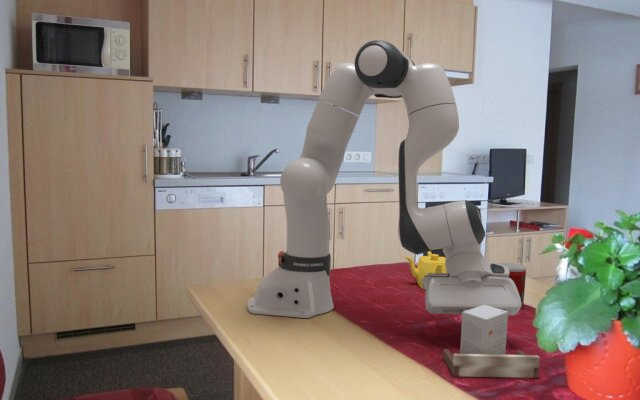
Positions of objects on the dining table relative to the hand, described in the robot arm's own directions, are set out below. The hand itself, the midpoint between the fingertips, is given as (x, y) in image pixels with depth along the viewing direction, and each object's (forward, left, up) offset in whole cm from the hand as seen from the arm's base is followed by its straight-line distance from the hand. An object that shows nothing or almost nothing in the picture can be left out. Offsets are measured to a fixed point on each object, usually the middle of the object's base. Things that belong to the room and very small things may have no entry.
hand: (478, 331), depth 109 cm
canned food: (+19, +33, -5) cm, 38 cm away
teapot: (+3, +52, -5) cm, 52 cm away
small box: (-1, -5, -5) cm, 7 cm away
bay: (0, -8, -4) cm, 9 cm away
